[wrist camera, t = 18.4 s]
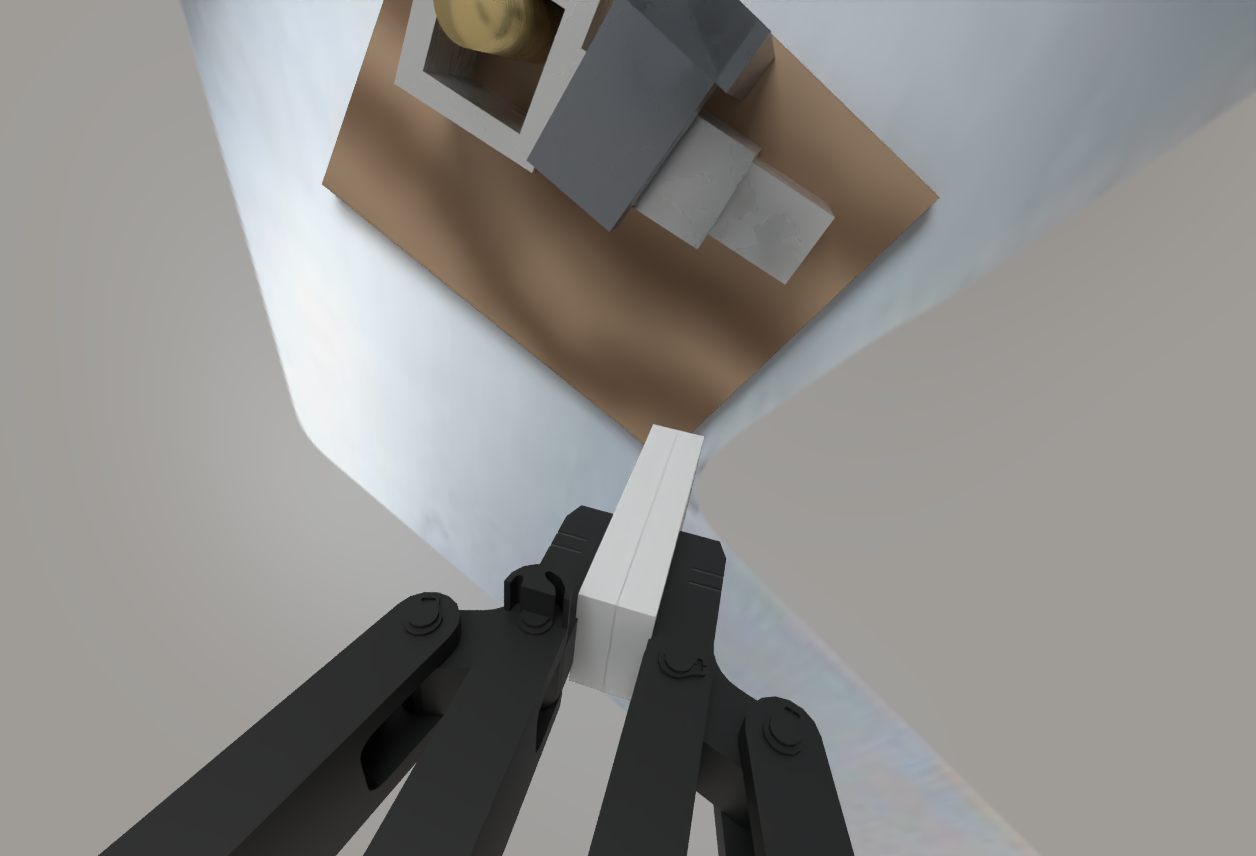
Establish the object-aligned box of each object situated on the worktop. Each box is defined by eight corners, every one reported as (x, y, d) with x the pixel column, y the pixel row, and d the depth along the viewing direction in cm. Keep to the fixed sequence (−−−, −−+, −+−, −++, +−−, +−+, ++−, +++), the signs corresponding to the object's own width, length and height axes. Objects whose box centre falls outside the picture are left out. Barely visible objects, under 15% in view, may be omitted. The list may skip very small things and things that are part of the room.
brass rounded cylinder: (538, -21, 25) (452, -70, 19) (585, 22, 25) (517, -11, 19) (509, 39, 26) (421, 13, 20) (554, 80, 27) (481, 66, 20)
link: (447, 88, 27) (370, 81, 22) (494, -79, 23) (414, -135, 18) (762, 293, 28) (757, 331, 23) (856, 164, 24) (874, 176, 19)
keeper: (691, -21, 24) (645, -91, 16) (775, 60, 24) (771, 31, 16) (591, 142, 28) (515, 151, 20) (665, 208, 28) (619, 241, 21)
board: (485, -241, 22) (470, -259, 21) (933, 194, 25) (939, 197, 24) (336, 182, 32) (321, 184, 31) (666, 449, 36) (662, 459, 35)
